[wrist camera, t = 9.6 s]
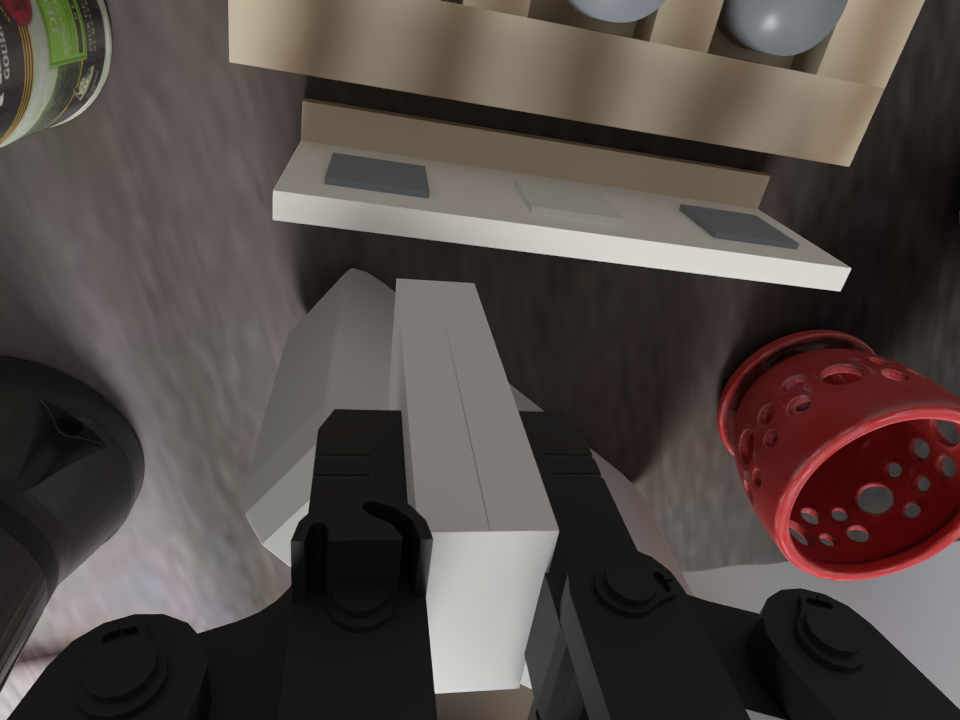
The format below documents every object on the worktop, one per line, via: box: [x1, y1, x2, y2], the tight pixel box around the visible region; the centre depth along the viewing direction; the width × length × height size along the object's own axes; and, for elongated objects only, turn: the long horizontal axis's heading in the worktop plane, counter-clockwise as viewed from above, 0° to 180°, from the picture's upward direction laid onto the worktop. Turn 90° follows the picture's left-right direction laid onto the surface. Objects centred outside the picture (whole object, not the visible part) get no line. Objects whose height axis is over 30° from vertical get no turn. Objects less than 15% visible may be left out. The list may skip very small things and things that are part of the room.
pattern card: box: [273, 98, 852, 292], centre depth 32 cm, size 26×5×10 cm, turn 80°
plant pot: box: [717, 329, 960, 581], centre depth 41 cm, size 13×13×12 cm
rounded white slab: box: [244, 268, 693, 689], centre depth 37 cm, size 29×8×18 cm, turn 45°
